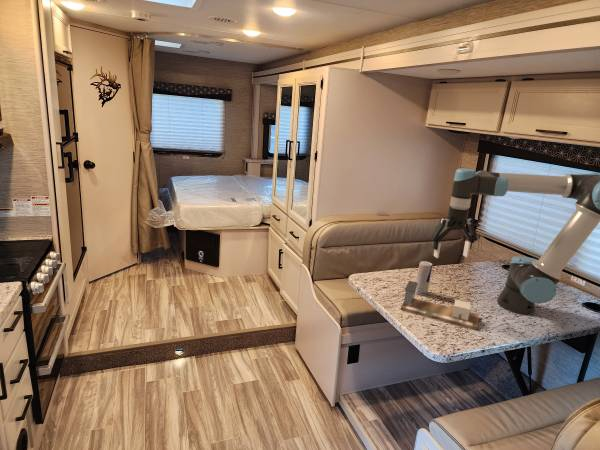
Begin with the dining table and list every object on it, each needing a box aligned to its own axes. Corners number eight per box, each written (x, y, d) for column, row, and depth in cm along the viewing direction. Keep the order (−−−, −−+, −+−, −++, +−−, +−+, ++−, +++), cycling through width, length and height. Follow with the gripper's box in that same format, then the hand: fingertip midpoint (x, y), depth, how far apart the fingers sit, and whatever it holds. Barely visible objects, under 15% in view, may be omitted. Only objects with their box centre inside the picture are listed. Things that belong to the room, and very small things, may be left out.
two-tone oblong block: (415, 298, 174) (417, 282, 172) (411, 307, 166) (414, 291, 163) (406, 296, 176) (409, 280, 173) (402, 305, 167) (404, 288, 165)
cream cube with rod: (468, 313, 164) (470, 303, 162) (467, 324, 155) (469, 312, 154) (453, 310, 166) (455, 299, 164) (451, 319, 158) (453, 308, 156)
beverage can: (427, 296, 180) (433, 266, 176) (415, 294, 181) (420, 264, 177) (426, 291, 185) (431, 261, 181) (414, 289, 186) (419, 260, 182)
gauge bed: (478, 317, 165) (478, 314, 164) (477, 330, 154) (478, 327, 154) (406, 298, 176) (406, 295, 176) (400, 309, 166) (401, 306, 165)
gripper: (481, 205, 164) (472, 252, 170) (426, 204, 159) (419, 253, 165) (492, 209, 157) (483, 259, 163) (435, 209, 152) (427, 260, 158)
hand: (450, 256), depth 164 cm, fingers open, 13 cm apart
